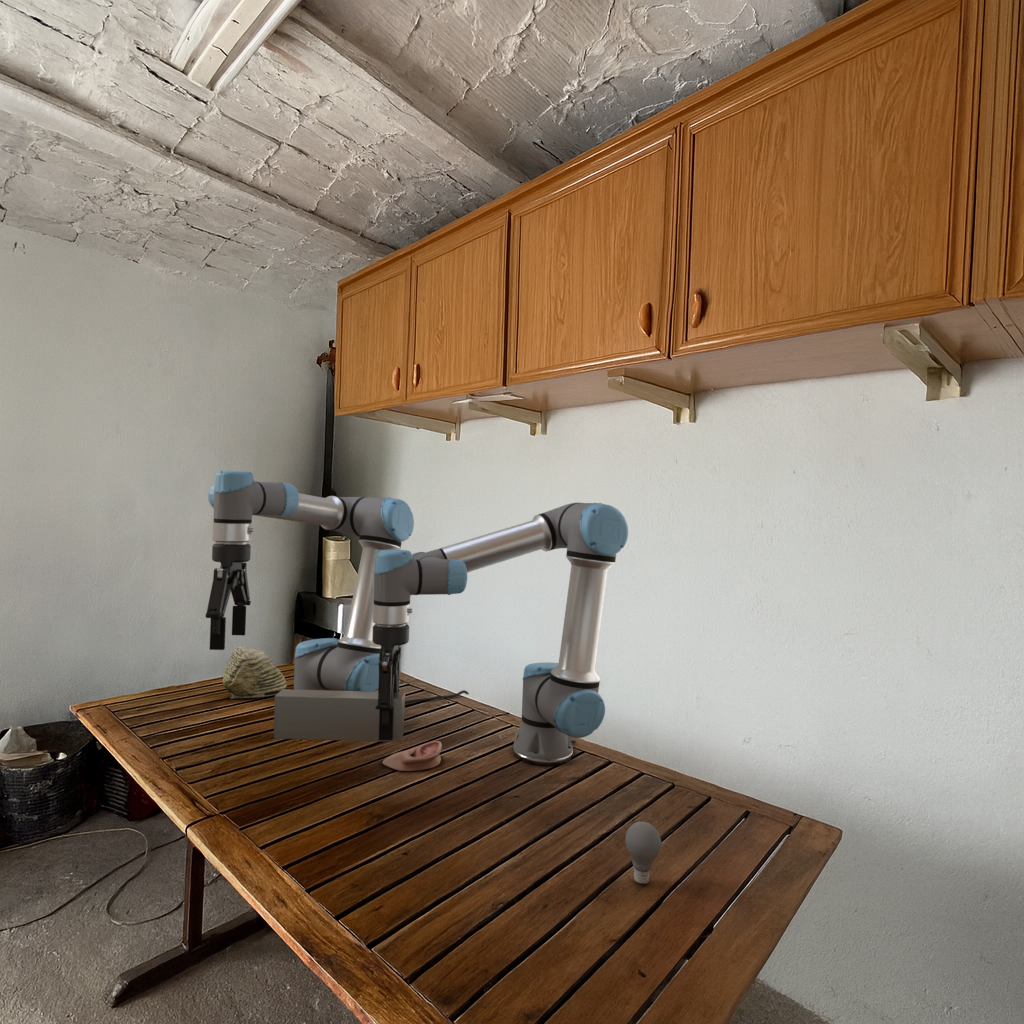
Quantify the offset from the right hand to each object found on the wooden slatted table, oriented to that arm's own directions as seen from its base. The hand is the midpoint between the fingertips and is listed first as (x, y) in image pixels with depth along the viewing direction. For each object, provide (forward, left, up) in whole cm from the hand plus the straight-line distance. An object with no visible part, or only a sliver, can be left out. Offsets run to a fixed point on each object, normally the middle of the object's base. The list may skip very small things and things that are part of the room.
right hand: (387, 734), depth 133 cm
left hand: (+30, -19, +17) cm, 40 cm away
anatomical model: (-12, -17, -14) cm, 25 cm away
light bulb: (-32, +44, -14) cm, 56 cm away
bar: (+9, -4, -1) cm, 10 cm away
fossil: (+18, -83, -14) cm, 86 cm away
